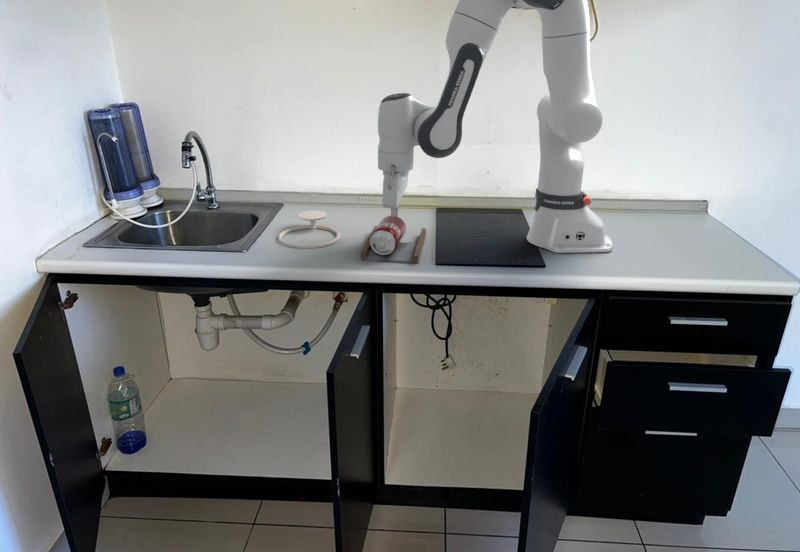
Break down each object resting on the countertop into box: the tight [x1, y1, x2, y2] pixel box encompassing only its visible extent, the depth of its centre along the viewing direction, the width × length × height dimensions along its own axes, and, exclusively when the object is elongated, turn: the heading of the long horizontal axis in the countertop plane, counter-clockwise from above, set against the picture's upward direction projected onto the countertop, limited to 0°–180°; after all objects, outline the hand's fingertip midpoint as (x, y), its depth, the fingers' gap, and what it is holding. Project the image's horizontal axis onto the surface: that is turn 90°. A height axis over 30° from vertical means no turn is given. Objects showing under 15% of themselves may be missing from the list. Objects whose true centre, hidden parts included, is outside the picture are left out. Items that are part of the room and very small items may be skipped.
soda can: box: [369, 215, 407, 256], centre depth 159 cm, size 7×7×12 cm
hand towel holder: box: [277, 210, 341, 250], centre depth 169 cm, size 17×4×21 cm
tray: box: [360, 225, 427, 265], centre depth 162 cm, size 14×21×2 cm
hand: (395, 214), depth 158 cm, fingers closed
